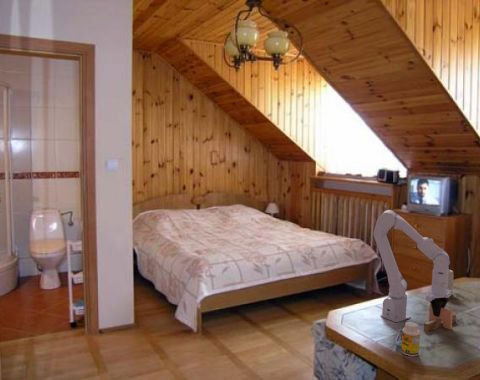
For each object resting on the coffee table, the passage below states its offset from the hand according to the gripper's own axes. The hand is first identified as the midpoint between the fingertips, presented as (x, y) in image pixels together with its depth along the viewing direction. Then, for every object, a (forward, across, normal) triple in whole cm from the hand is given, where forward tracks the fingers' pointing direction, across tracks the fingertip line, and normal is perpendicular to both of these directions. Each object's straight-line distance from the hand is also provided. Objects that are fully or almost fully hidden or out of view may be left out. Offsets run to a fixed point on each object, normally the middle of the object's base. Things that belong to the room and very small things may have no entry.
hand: (437, 315), depth 174 cm
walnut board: (+3, -1, -2) cm, 4 cm away
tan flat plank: (+3, 0, -1) cm, 4 cm away
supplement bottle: (+4, -32, -10) cm, 34 cm away
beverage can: (+4, +37, +19) cm, 42 cm away
